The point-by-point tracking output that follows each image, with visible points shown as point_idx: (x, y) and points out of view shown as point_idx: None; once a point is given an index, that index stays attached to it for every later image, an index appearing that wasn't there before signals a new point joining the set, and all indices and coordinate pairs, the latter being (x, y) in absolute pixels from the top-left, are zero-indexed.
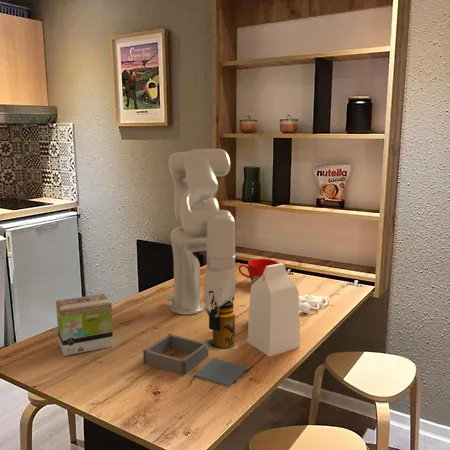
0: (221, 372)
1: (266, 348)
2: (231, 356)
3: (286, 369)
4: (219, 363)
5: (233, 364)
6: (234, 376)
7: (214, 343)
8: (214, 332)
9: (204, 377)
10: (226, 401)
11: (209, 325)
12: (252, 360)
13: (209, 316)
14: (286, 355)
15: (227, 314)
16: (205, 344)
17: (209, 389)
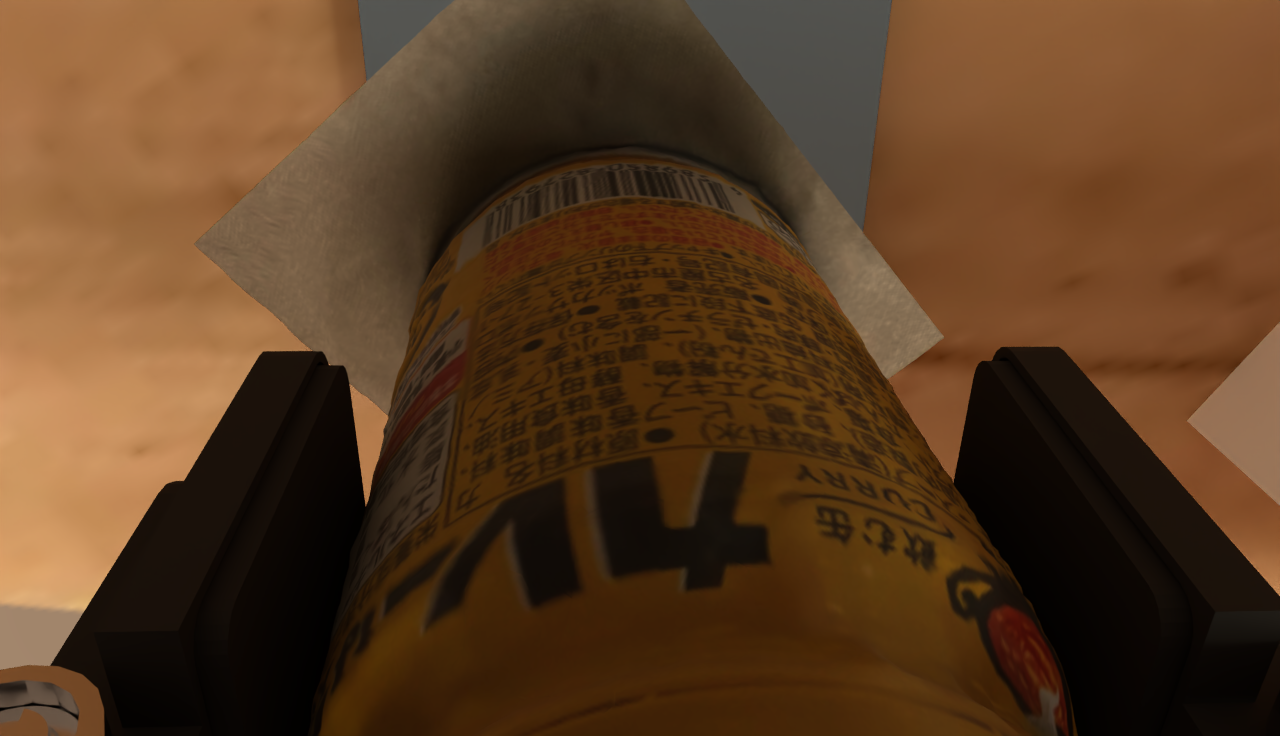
0: None
1: (1275, 416)
2: (1069, 32)
3: None
4: (786, 8)
5: (833, 185)
6: None
7: (431, 272)
8: (405, 379)
9: (363, 16)
10: (154, 433)
11: (243, 402)
12: (1044, 305)
13: (119, 611)
14: (1256, 546)
15: None
16: (428, 40)
17: (218, 185)
